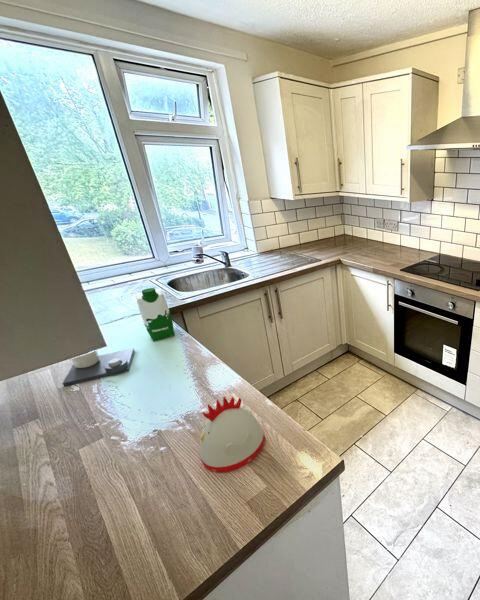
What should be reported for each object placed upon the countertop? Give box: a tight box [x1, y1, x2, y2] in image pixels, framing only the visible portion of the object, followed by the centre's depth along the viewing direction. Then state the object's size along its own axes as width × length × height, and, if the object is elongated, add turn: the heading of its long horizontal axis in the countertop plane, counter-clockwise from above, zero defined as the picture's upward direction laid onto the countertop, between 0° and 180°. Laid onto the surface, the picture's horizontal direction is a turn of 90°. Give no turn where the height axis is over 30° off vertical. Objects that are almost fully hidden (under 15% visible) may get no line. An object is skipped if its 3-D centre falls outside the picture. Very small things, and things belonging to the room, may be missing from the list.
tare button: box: [109, 358, 121, 367], centre depth 107 cm, size 3×3×2 cm
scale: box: [62, 347, 136, 388], centre depth 109 cm, size 16×15×3 cm
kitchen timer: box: [199, 396, 265, 473], centre depth 77 cm, size 14×14×15 cm
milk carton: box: [135, 287, 175, 343], centre depth 126 cm, size 9×9×20 cm
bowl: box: [70, 350, 100, 368], centre depth 109 cm, size 6×6×5 cm
